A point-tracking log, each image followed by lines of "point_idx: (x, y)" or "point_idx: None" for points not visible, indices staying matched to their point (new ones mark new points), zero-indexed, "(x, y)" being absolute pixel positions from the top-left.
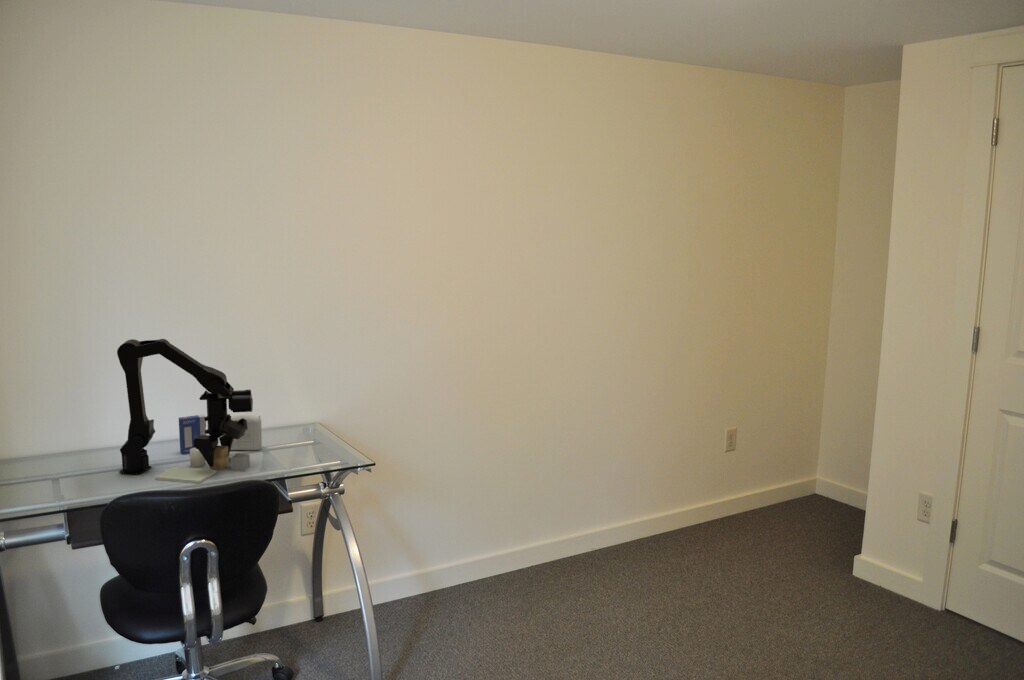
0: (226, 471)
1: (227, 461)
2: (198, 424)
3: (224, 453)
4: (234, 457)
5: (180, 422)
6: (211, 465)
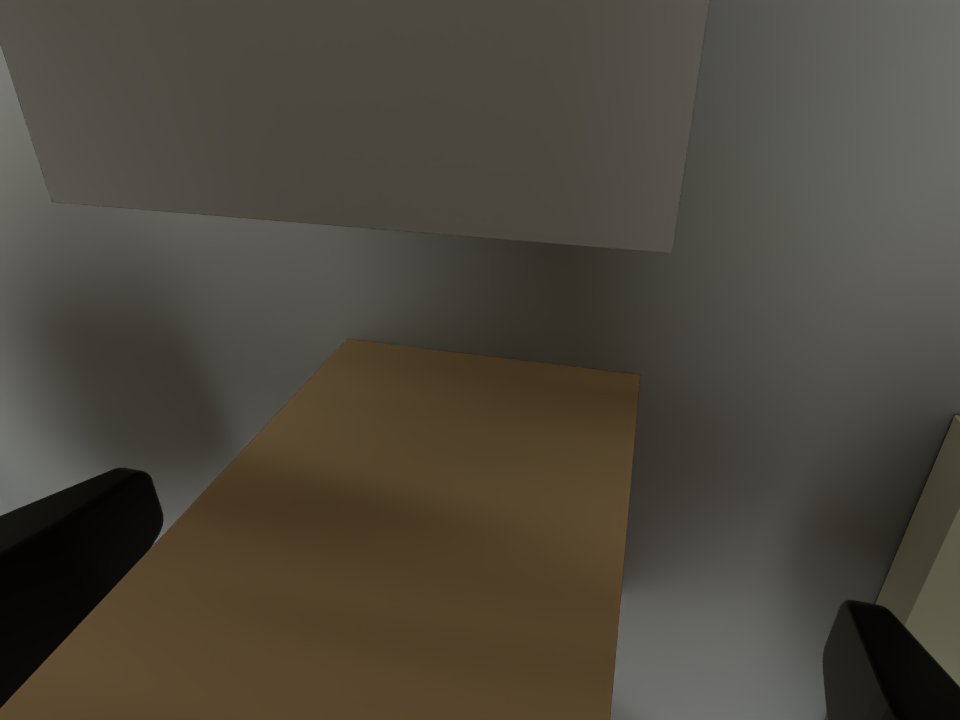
0: (828, 201)
1: (354, 392)
2: None
3: (377, 636)
4: (629, 43)
5: None
6: (903, 653)
